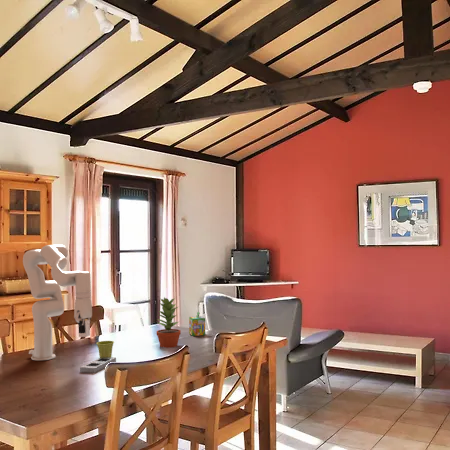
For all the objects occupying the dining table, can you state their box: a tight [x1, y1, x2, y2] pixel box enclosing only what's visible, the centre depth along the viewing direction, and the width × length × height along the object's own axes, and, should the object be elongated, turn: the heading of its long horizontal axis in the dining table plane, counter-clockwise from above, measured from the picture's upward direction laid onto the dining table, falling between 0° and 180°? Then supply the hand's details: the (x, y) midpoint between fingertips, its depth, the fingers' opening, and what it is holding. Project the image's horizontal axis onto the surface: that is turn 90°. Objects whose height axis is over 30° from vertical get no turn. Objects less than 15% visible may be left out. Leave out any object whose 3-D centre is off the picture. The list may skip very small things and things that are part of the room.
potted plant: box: [156, 296, 181, 349], centre depth 313 cm, size 15×15×30 cm
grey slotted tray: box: [79, 356, 117, 374], centre depth 264 cm, size 8×22×2 cm, turn 164°
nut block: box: [77, 319, 91, 338], centre depth 263 cm, size 4×4×8 cm
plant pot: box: [96, 340, 115, 358], centre depth 283 cm, size 9×9×9 cm
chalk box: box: [188, 311, 206, 337], centre depth 346 cm, size 9×9×15 cm
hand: (84, 331), depth 263 cm, fingers closed on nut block, 4 cm apart
